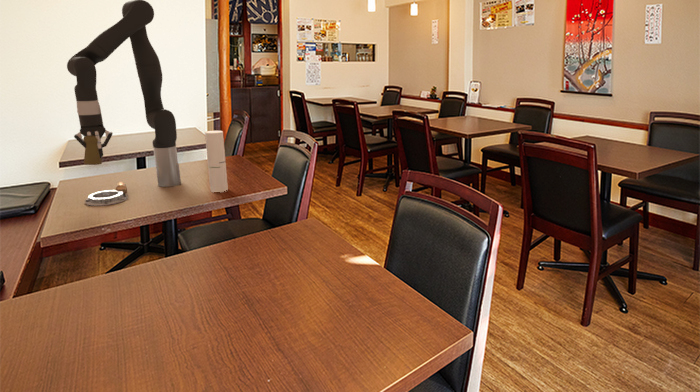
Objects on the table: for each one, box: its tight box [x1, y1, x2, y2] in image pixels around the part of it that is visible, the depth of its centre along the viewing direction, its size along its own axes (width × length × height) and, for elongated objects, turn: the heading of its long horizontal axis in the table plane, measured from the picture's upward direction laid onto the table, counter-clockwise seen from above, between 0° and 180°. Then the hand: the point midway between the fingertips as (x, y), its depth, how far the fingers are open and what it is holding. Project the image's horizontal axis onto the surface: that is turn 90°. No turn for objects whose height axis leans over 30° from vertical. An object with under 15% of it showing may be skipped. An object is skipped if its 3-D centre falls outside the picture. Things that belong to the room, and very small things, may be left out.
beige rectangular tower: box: [204, 130, 229, 193], centre depth 182 cm, size 7×7×25 cm
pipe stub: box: [115, 181, 128, 195], centre depth 181 cm, size 8×4×4 cm, turn 28°
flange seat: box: [84, 189, 129, 207], centre depth 172 cm, size 15×15×2 cm
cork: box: [83, 135, 103, 166], centre depth 166 cm, size 6×6×11 cm
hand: (97, 158), depth 168 cm, fingers closed on cork, 1 cm apart
